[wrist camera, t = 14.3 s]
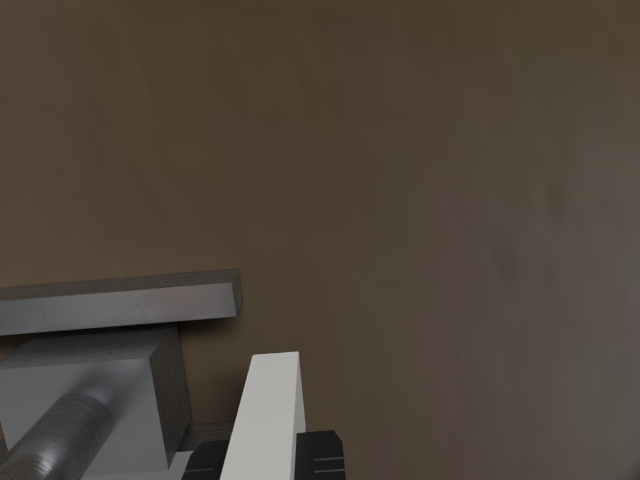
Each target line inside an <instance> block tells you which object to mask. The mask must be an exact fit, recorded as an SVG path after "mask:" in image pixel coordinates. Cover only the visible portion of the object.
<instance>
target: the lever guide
mask: <svg viewBox="0 0 640 480" xmlns="http://www.w3.org/2000/svg"><path fill="white" fill-rule="evenodd" d="M242 301H243V295H242V287H241V279H240V271H239V269H231V270H219V271H206V272H194V273H182V274H169V275H157V276H144V277H132V278H120V279H107V280H95V281H82V282H70V283H57V284H45V285H33V286H20V287H8V288H0V335H10V334H23V333H35V332H48V331H60V330H73V329H85V328H98V327H110V326H123V325H135V324H148V323H160V322H173V321H186V320H198V319H211V318H223V317H236V316H237V313H238V311H239V309H240V306H241V304H242ZM234 424H235V422H227V423H215V424H202V425H189V426H187V428H186V431H185V433H184V435H183V438H182V440H181V442H180V445H179V447H178V449H177V452H176V454H175V456H174V459H173V461H172V463H171V466H170V468H169V470H167V471H154V472H142V473H129V474H116V475H103V476H90V477H82V478H81V479H80V480H181V479H182V476H183V473H185V468H186V465H187V463H188V460H189V457H190V455H191V454H192V453H193V452H194V451H195V449H196V448H197V447H198V446H199V445H200V444H201V443H202V442H203V441H216V440H229V439H231V435H232V432H233V428H234ZM7 453H8V449H7V445H6V441H5V440H0V460H1V459H2V458H3V457H4V456H5V455H6V454H7Z"/></svg>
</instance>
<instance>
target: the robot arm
mask: <svg viewBox="0 0 640 480" xmlns="http://www.w3.org/2000/svg"><path fill="white" fill-rule="evenodd" d="M181 480H346V477H345V466H344V455H343V444H342V441H341V440H340V438H339V437H338V436H337V434H336V433H335V432H334V430H330V431H317V432H305V416H304V405H303V395H302V384H301V373H300V363H299V352H286V353H273V354H260V355H253V357H252V360H251V364H250V368H249V372H248V375H247V379H246V383H245V387H244V390H243V394H242V398H241V402H240V405H239V409H238V413H237V417H236V420H235V424H234V428H233V432H232V435H231V439H229V440H216V441H203V442H202V443H201V444H200V445H199V446H198V447H197V448H196V449H195V451H194V452H193V453H192V454H191V455H190V457H189V460H188V463H187V465H186V468H185V473H183V476H182V479H181Z"/></svg>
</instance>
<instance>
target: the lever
mask: <svg viewBox="0 0 640 480" xmlns="http://www.w3.org/2000/svg"><path fill="white" fill-rule="evenodd" d="M190 419H191V411H190V404H189V398H188V392H187V385H186V379H185V373H184V366H183V360H182V354H181V348H180V341H179V335H178V329H177V322H176V321H173V322H160V323H148V324H135V325H123V326H110V327H98V328H85V329H73V330H60V331H48V332H39V333H38V334H36V335H35V336H34V337H32V338H31V339H30V340H28V341H27V342H26V343H24V344H23V345H21V346H20V347H19V348H17V349H16V350H15V351H13V352H12V353H11V354H9V355H8V356H7V357H5V358H4V359H3V360H1V361H0V422H1V425H2V429H3V433H4V437H5V441H6V445H7V449H8V453H7V454H6V455H5V456H4V457H3V458H2V459H1V460H0V480H80V479H81V478H82V477H90V476H103V475H116V474H129V473H142V472H154V471H167V470H169V468H170V466H171V463H172V461H173V459H174V456H175V454H176V452H177V449H178V447H179V445H180V442H181V440H182V438H183V435H184V433H185V431H186V428H187V426H188V424H189V421H190Z"/></svg>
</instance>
